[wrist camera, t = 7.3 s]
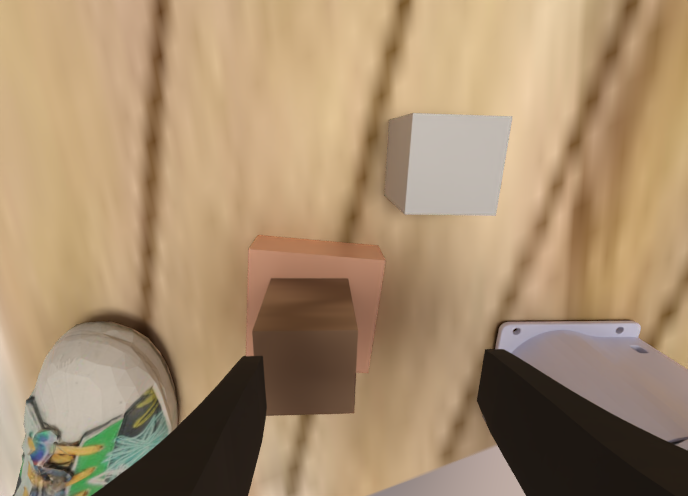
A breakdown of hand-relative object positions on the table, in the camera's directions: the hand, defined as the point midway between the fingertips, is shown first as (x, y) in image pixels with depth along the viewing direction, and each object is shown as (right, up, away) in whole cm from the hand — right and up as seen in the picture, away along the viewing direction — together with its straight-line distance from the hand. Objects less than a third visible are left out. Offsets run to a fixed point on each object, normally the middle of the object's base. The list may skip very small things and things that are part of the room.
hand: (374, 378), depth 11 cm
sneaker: (-17, -9, +13) cm, 23 cm away
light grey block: (+3, +9, +8) cm, 12 cm away
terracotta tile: (-3, +2, +10) cm, 11 cm away
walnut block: (-3, +1, +7) cm, 8 cm away
